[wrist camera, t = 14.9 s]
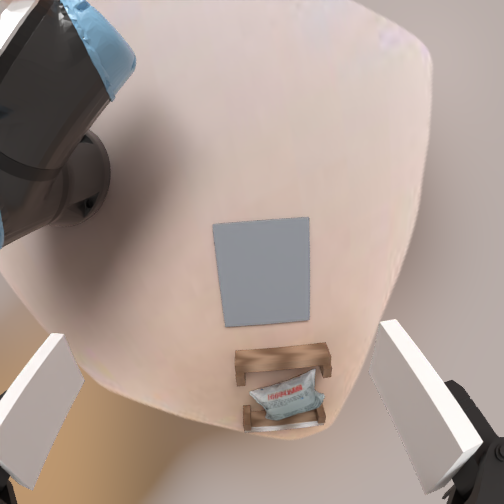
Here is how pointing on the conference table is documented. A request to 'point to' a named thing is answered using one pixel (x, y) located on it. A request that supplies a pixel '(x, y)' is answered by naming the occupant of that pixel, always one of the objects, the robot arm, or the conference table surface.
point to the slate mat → (264, 270)
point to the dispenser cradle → (281, 361)
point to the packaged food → (289, 397)
